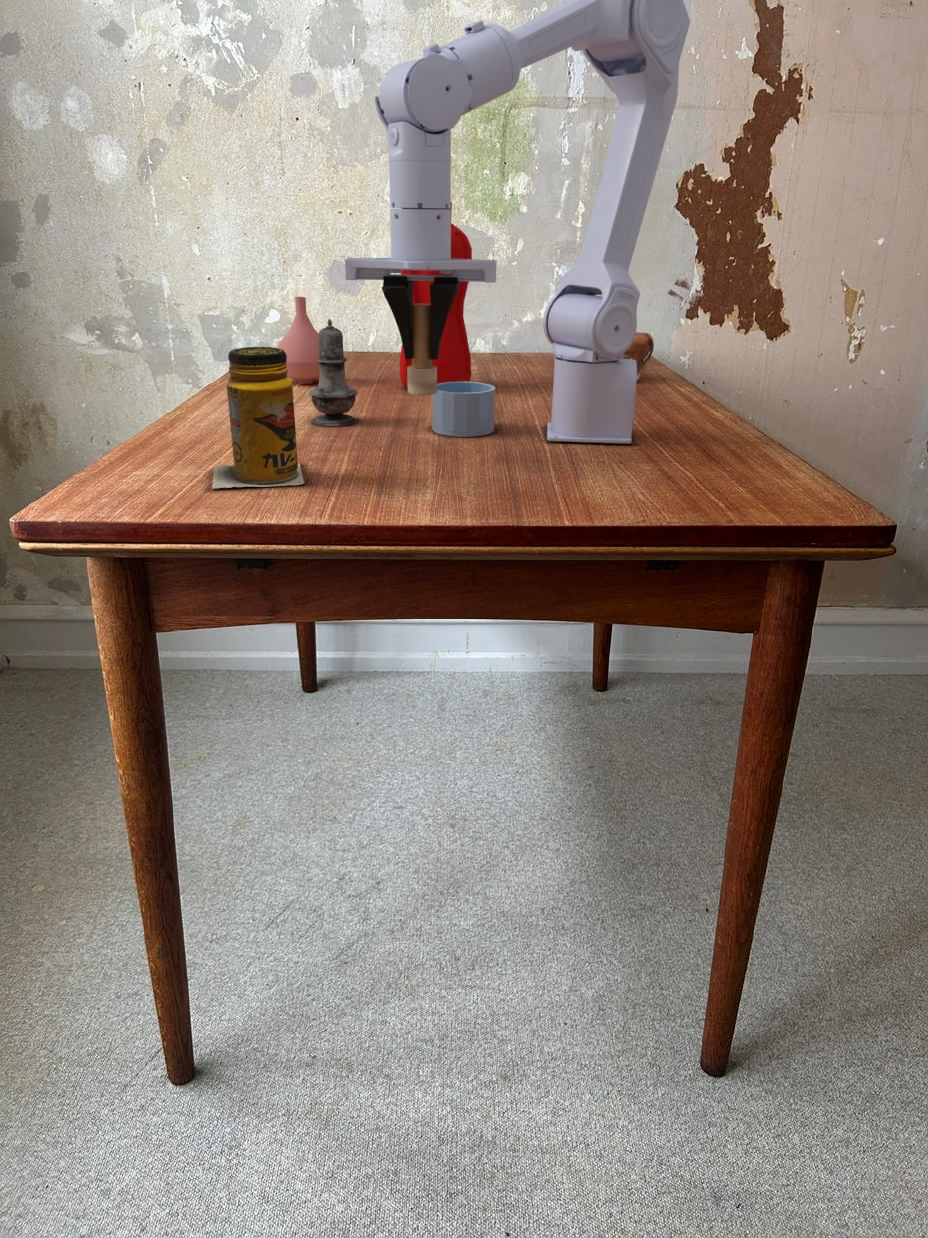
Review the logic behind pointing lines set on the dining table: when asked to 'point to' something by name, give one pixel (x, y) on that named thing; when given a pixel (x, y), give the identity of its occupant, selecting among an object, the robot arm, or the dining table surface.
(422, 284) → the water bottle
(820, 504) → the dining table surface
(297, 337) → the pink vase
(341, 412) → the salt shaker
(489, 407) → the beaker
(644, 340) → the bull figurine
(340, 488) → the dining table surface
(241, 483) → the condiment
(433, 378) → the brush
